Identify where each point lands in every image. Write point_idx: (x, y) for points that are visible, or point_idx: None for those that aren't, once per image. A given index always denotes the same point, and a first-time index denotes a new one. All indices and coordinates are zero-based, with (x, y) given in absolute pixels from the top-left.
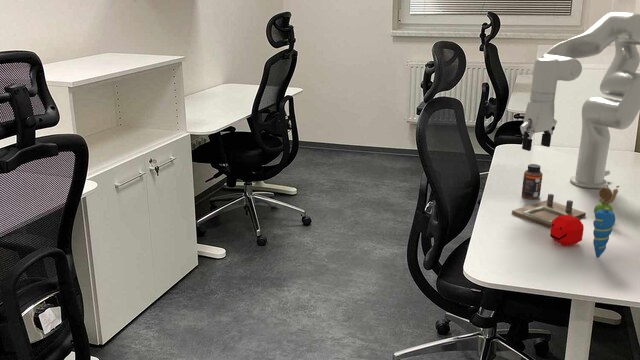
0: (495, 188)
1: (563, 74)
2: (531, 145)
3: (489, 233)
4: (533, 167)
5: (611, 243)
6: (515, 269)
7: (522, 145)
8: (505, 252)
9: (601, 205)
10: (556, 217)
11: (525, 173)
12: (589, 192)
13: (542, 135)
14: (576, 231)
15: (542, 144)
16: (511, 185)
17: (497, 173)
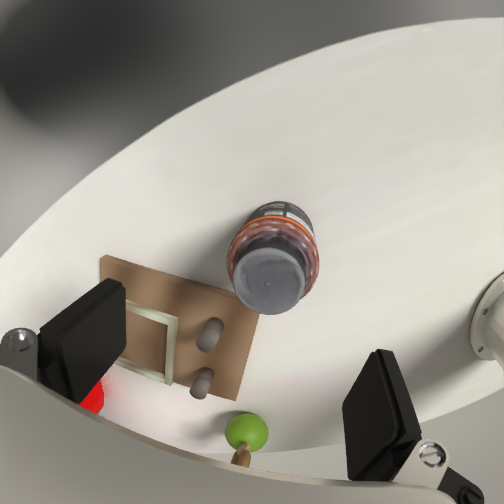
0: (277, 87)
1: None
2: (101, 372)
3: (20, 265)
4: (235, 290)
5: (149, 431)
6: (3, 335)
7: (93, 290)
8: (10, 312)
9: (230, 442)
10: (149, 358)
11: (235, 238)
12: (440, 347)
13: (392, 422)
14: None
15: (366, 367)
16: (360, 117)
17: (441, 34)
